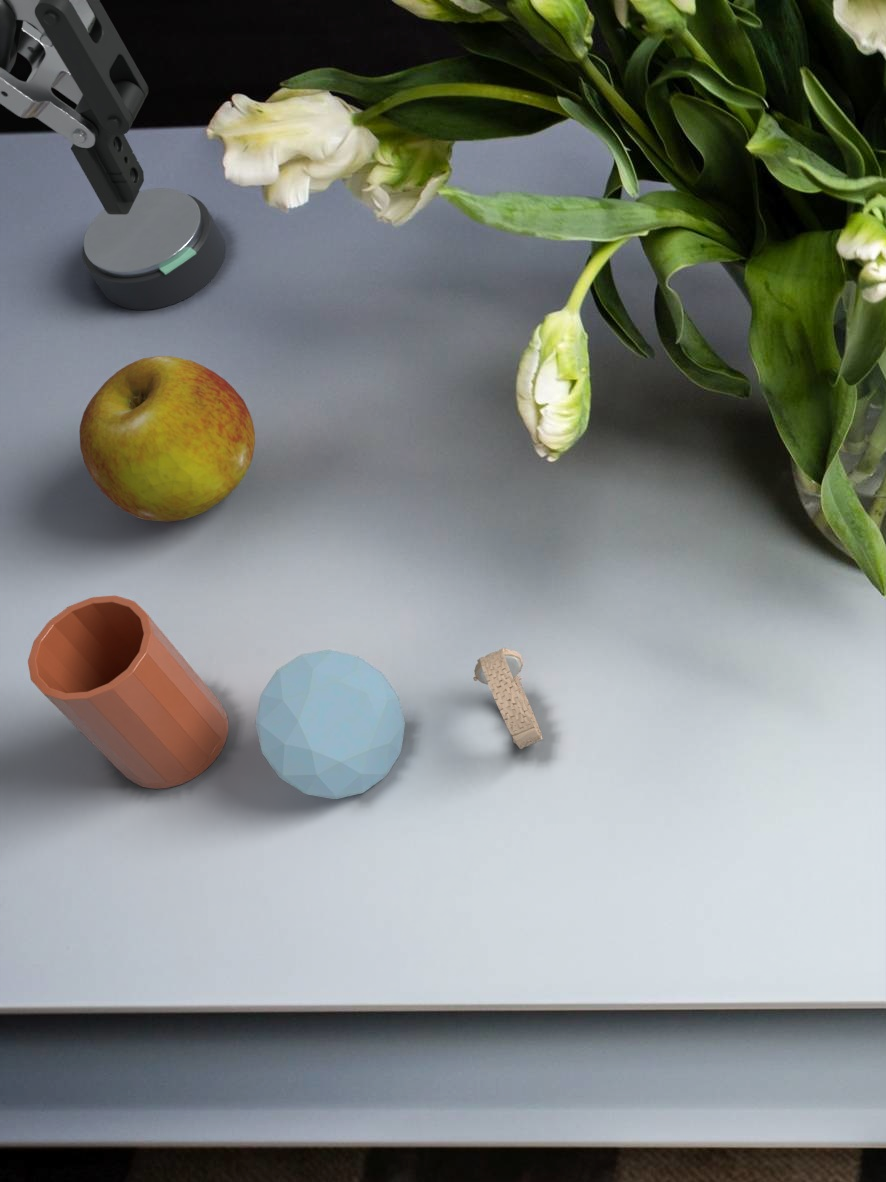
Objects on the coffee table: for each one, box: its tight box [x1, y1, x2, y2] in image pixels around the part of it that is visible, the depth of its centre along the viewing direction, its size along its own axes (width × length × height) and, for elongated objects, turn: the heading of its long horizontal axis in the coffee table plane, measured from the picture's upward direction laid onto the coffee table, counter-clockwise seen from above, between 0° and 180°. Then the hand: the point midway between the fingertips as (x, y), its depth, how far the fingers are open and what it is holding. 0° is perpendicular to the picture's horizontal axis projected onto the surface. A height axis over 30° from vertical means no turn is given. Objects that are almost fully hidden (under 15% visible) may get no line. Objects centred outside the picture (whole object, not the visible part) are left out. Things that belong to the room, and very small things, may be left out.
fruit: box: [79, 355, 256, 523], centre depth 93 cm, size 10×9×8 cm
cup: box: [27, 595, 229, 790], centre depth 83 cm, size 6×6×9 cm
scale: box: [81, 187, 227, 311], centre depth 105 cm, size 8×8×3 cm
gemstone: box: [255, 649, 406, 800], centre depth 84 cm, size 8×8×5 cm
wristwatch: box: [472, 647, 544, 750], centre depth 82 cm, size 3×5×5 cm, turn 24°
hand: (34, 202), depth 72 cm, fingers open, 8 cm apart
